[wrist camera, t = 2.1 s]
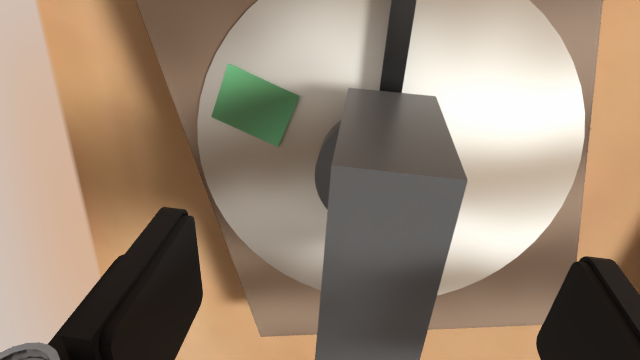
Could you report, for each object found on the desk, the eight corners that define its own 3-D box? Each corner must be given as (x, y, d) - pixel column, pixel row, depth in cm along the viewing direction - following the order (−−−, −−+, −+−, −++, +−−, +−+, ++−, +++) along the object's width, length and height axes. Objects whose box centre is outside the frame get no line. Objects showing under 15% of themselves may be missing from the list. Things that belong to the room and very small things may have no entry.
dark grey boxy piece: (424, 241, 19) (447, 388, 13) (313, 228, 19) (281, 363, 13) (483, -17, 14) (571, 13, 7) (331, -29, 14) (291, -9, 8)
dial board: (548, 281, 23) (571, 326, 20) (272, 298, 26) (259, 339, 24) (577, -173, 14) (626, -203, 11) (152, -63, 17) (108, -65, 15)
